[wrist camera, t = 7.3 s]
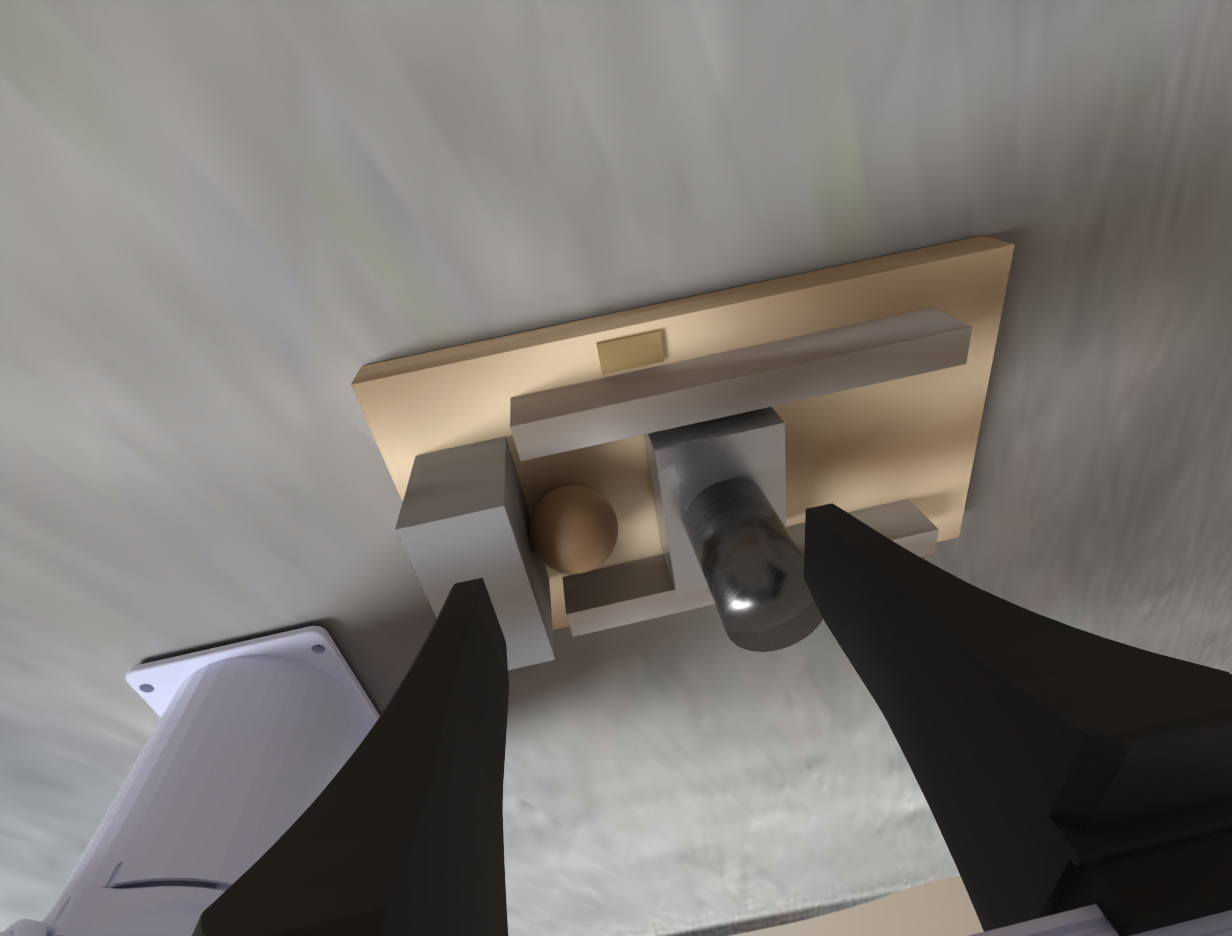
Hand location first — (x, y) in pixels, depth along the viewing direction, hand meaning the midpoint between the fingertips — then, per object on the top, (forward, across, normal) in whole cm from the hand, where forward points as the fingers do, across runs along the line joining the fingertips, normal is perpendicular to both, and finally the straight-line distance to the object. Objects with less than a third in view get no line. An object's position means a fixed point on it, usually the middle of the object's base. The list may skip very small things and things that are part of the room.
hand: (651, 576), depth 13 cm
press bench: (+9, -3, +3) cm, 10 cm away
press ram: (+8, -3, +3) cm, 9 cm away
